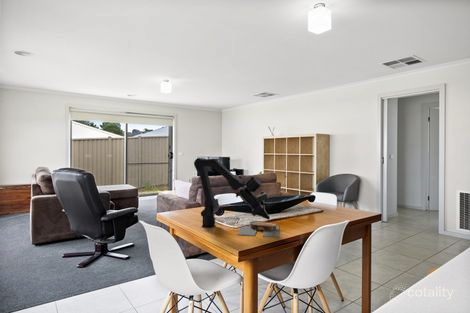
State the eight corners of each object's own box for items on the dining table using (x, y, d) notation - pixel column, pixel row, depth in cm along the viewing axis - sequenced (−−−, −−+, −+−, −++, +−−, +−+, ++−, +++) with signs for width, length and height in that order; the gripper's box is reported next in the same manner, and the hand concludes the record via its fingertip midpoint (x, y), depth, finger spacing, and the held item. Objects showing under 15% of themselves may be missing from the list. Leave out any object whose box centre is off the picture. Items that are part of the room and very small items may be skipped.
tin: (247, 223, 155) (253, 219, 163) (247, 229, 155) (253, 224, 163) (274, 227, 149) (278, 222, 157) (274, 232, 149) (278, 227, 157)
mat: (237, 235, 145) (237, 234, 145) (242, 224, 164) (242, 224, 164) (278, 237, 141) (278, 236, 141) (279, 226, 161) (279, 225, 161)
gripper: (258, 189, 141) (280, 212, 140) (261, 185, 160) (280, 205, 158) (242, 204, 143) (264, 227, 141) (247, 198, 161) (266, 218, 160)
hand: (269, 218), depth 150 cm, fingers closed
